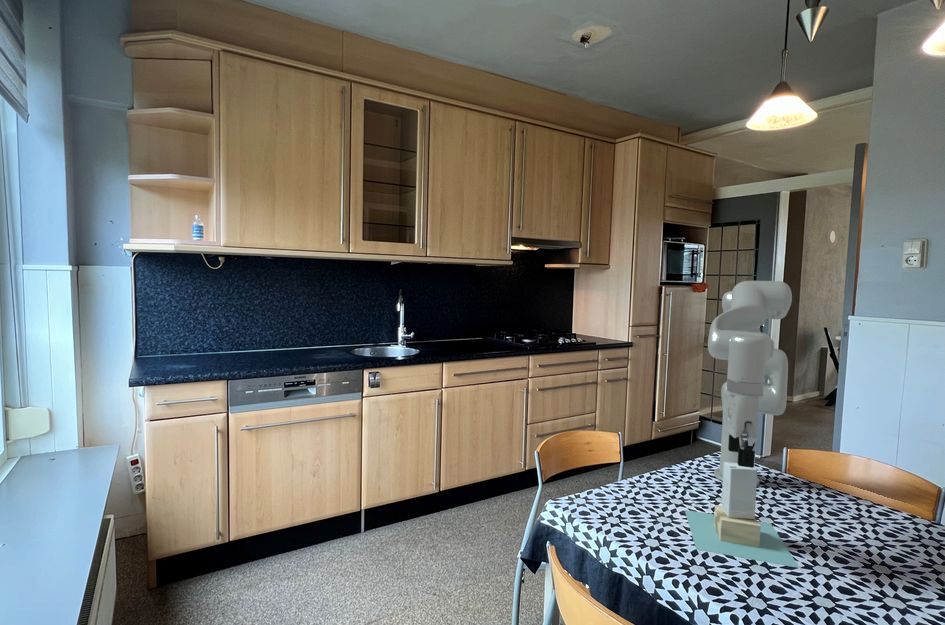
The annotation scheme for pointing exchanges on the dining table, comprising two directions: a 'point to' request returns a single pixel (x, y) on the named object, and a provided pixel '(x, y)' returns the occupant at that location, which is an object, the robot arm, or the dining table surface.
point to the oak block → (736, 529)
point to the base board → (766, 552)
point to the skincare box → (739, 491)
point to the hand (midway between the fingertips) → (740, 458)
